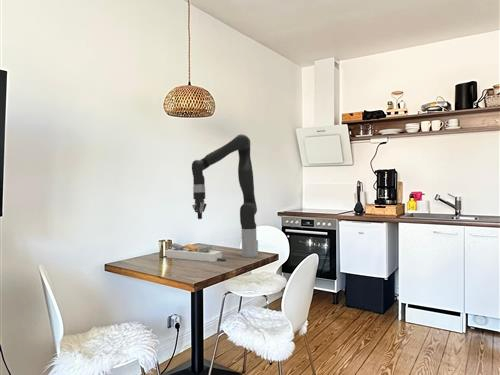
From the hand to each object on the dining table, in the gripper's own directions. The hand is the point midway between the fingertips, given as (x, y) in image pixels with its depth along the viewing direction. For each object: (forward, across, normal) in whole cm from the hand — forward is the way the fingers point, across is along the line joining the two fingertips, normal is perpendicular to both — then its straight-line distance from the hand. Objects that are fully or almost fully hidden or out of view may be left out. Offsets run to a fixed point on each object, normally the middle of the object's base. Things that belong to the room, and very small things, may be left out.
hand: (199, 218), depth 230 cm
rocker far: (+18, -9, +12) cm, 23 cm away
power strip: (+23, -9, -2) cm, 25 cm away
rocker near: (+18, -9, -10) cm, 22 cm away
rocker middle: (+18, -9, +1) cm, 20 cm away
